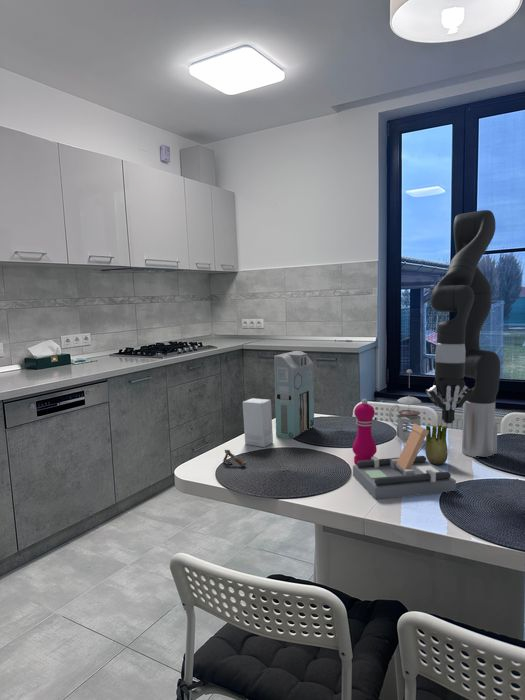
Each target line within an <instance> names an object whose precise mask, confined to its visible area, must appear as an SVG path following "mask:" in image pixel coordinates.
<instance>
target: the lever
mask: <svg viewBox="0 0 525 700" xmlns="http://www.w3.org/2000/svg"><path fill="white" fill-rule="evenodd" d="M412 425H413V426H412V427H411V428H412V430H410V431H411V433H410V435H409V437H408V440H407V442H406V443H404V444H405V445H404V446H403V449H402V450H401V453H400V455H399V457H398V458H399V459H398V461H397V463H396V464H395V467H396V468H398V469H399V470H400V471H401V472H403V473H404V470H406V469H411V467H412V465H413V462H414V460H415V458H416V456H418V453H419V451H420V450H421V447H422V445H423V443H424V441H425V440H426V436H427V435H428V433H429V431H428V430H426V427H422V426H421V425H420V426H419V425H417V424H415V423H414V424H412Z"/></svg>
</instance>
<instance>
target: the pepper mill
mask: <svg viewBox="0 0 525 700" xmlns="http://www.w3.org/2000/svg"><path fill="white" fill-rule="evenodd" d="M375 412H376V411H375V408H374V407H373V405H372V404H369V401H368V400H367V398H362V400H361V403H359V404H357V405H356V406H355V409H354V416H355V417H356V420H355V421H356V422H355V424H356V425H357V433H356V437H355V439H354V441H353V443H352V453H354V454H355V455H354V456H353V462H354V465H357V462H358V461H363V460H371V457H375V455H376V454H377V445H376V444H377V443H376V442H375V440H374V437H373V434H372V426H373V425H374V423H373V422H374V416H375V414H376V413H375Z"/></svg>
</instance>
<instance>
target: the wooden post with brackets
mask: <svg viewBox="0 0 525 700" xmlns="http://www.w3.org/2000/svg"><path fill="white" fill-rule="evenodd" d="M224 453H225V455H224V457H223V460H222V462H223V463H225V462H226V463H227V464H228V465H230V464H233V465H234V463H233V461H234V462H236V463H237V464H238V466H240V468H241V467H242V466H243V465H245V466H246V464H247V461H242V460H241V459H239V458H238V457H237V456H236V455H235V454H233V453H232V452H231V450H230V449H224ZM228 458H231V459H232V460H233V461H231V459H228ZM243 467H244V466H243ZM243 467H242V468H243Z"/></svg>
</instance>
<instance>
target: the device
mask: <svg viewBox="0 0 525 700" xmlns="http://www.w3.org/2000/svg"><path fill="white" fill-rule="evenodd" d="M273 357H274V362H273V363H274V394H275V395H274V402H275V405H274V406H275V412H274V413H275V436H276V437H281V438H287V439H295V438H296V437H299V436H300V435H301V434H300V433H302V432H303V431H305V430H307V429H309V430H311V429H313V428H314V427H315V396H314V395H315V382H314V381H315V379H314V375H315V374H314V372H315V371H314V368H315V367H314V366H315V365H314V363H313V361H312V359H310V357H309V356H308V353H305V352H304V351H301V350H293V351H290V352H284V353H281V354H277V355H274V356H273ZM312 427H313V428H312ZM310 428H311V429H310ZM307 431H308V430H307ZM305 432H306V431H305ZM299 434H300V435H299ZM302 434H303V433H302Z"/></svg>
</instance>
